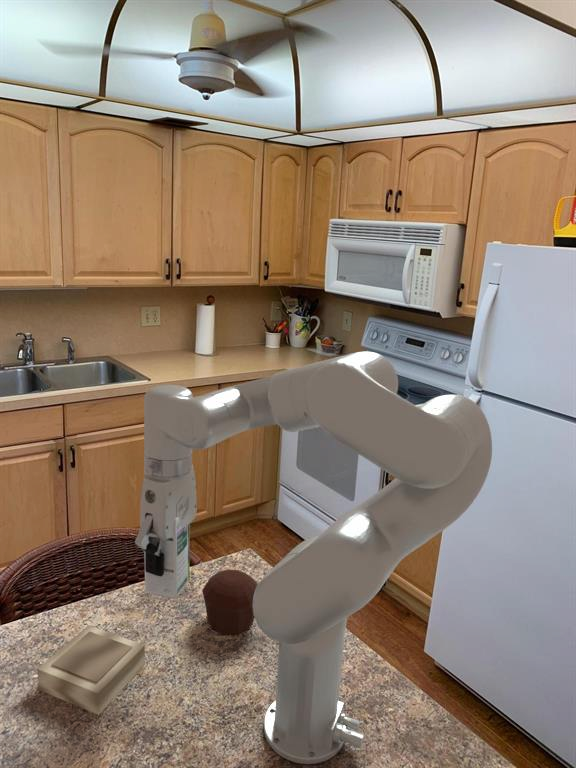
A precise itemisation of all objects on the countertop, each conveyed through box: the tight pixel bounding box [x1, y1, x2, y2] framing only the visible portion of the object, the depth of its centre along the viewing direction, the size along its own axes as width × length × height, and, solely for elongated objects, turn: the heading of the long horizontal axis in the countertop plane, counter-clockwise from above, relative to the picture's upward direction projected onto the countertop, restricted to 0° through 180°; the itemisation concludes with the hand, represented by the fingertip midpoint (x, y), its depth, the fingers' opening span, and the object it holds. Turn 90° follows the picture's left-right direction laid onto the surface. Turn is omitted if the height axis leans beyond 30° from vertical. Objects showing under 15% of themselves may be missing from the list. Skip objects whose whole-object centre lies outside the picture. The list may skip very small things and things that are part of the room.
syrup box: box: [143, 517, 191, 599], centre depth 95 cm, size 6×6×14 cm
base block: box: [37, 624, 146, 716], centre depth 96 cm, size 12×12×4 cm
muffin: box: [202, 569, 259, 637], centre depth 111 cm, size 12×11×10 cm
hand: (167, 562), depth 96 cm, fingers closed on syrup box, 6 cm apart
